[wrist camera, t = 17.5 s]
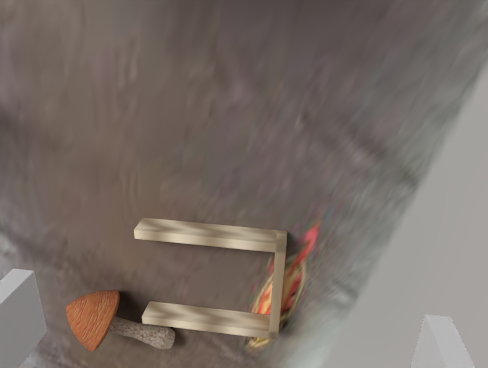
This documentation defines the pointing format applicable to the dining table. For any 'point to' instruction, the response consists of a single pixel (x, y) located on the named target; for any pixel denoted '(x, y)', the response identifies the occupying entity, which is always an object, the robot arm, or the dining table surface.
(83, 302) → the mushroom
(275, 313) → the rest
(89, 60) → the dining table surface
